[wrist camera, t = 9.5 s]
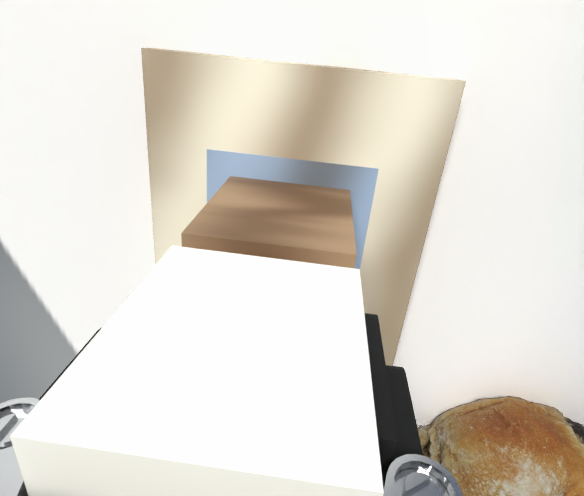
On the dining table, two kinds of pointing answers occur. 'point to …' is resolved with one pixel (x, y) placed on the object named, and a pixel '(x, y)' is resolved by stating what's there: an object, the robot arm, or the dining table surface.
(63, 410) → the cream block
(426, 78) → the birch board
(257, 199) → the walnut block
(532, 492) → the bread roll
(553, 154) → the dining table surface
